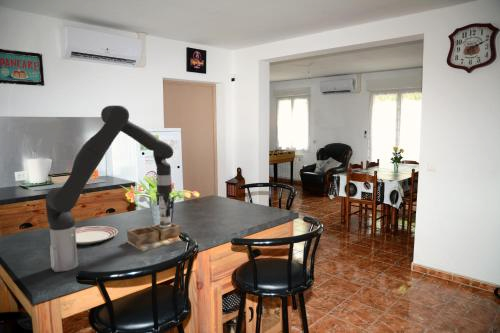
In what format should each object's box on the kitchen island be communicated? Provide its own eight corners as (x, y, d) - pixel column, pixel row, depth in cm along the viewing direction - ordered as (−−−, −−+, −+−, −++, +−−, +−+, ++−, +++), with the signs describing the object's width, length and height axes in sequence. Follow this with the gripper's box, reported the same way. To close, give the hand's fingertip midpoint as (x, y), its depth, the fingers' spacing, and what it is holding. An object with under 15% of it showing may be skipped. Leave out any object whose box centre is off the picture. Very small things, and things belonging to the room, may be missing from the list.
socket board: (142, 251, 166) (141, 238, 165) (126, 241, 179) (125, 230, 179) (186, 239, 182) (186, 228, 181) (169, 231, 195) (168, 221, 195)
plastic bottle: (156, 233, 186) (155, 195, 184) (167, 230, 191) (166, 193, 188) (163, 235, 181) (162, 197, 179) (174, 233, 186) (173, 195, 184)
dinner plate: (117, 228, 202) (117, 223, 202) (118, 244, 177) (118, 237, 177) (63, 234, 193) (63, 228, 192) (56, 251, 167) (55, 244, 167)
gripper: (150, 182, 186) (151, 213, 188) (164, 186, 175) (165, 219, 177) (163, 181, 191) (164, 211, 193) (177, 184, 180) (178, 216, 182)
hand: (165, 215), depth 185 cm, fingers closed on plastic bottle, 6 cm apart
